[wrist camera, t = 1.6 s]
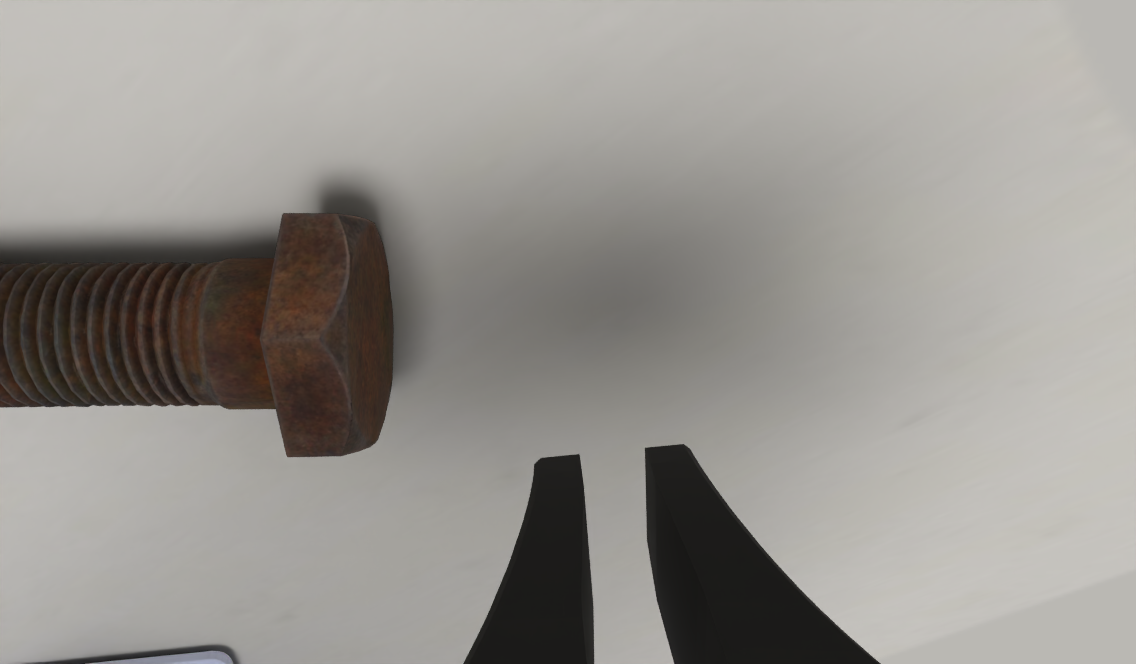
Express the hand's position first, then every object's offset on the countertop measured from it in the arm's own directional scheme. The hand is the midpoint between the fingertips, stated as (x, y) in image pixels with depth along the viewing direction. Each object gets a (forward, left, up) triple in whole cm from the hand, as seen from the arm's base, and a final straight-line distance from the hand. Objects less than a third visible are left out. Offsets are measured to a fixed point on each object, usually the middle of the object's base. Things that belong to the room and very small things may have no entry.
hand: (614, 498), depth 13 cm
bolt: (+1, +12, -9) cm, 15 cm away
